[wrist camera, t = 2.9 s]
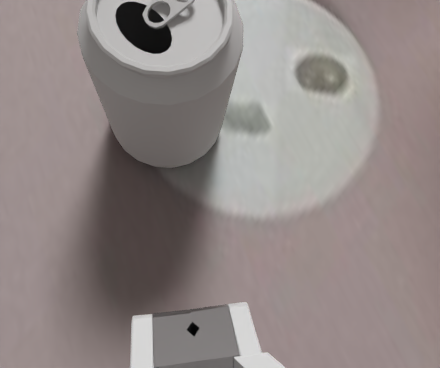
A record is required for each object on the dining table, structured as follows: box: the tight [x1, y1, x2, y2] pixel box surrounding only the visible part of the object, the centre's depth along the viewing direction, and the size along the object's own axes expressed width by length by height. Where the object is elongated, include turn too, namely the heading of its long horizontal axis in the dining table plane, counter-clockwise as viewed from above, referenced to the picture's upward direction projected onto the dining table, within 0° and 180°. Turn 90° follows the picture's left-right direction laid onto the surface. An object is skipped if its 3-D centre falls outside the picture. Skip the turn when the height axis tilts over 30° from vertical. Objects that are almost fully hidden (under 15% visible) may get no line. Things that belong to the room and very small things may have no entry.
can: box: [77, 0, 243, 168], centre depth 23 cm, size 8×8×12 cm
